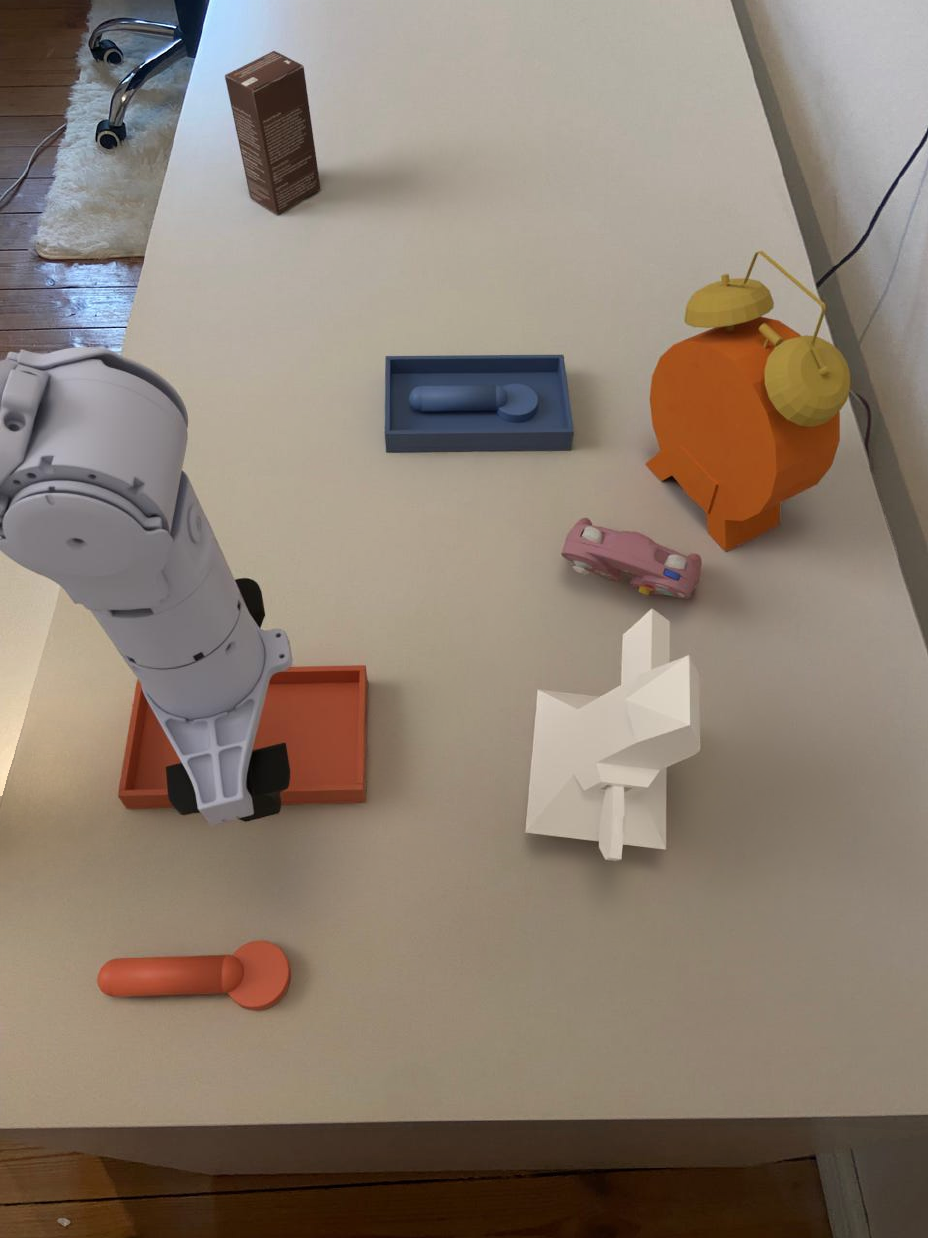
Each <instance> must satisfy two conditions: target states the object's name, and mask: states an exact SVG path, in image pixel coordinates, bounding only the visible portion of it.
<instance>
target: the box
mask: <svg viewBox="0 0 928 1238" xmlns="http://www.w3.org/2000/svg"><path fill="white" fill-rule="evenodd" d="M224 80H225V84H226V88H227V94H228V97H229V101H230V102H229V103H230V108H231V112H232V117H233V121H234V122H233V123H234V126H235V130H236V136H237V141H238V145H239V150H240V156H241V160H242V165H243V169H244V175H245V179H246V183H247V189H248V193H249V198H250V199H252V200H253V201H254V202H256V203H258V204H259V205H260V206H261V207H263V208H265V209H266V210H269V211H270V212H271V213H273V214H275V215H279V214H280V213H282V212H284V211H285V210H287V209H288V208H289V209H290V207H292V206H294V205H295V204H297V203H299V202H300V201H302V200H304V199H306V198H307V197H309V196H311V195H312V194H314V193H316V192H318V191H320V190H321V183H320V182H321V181H320V176H319V175H320V174H319V168H318V160H317V153H316V146H315V140H314V133H313V132H314V131H313V124H312V117H311V110H310V104H309V96H308V88H307V79H306V73H305V66H304V65H303V64H301V63H299V62H297V61H295V60H294V59H292V58H289V57H287V56H286V55H284V54H282V53H280V52H278V51H275V50H272V51H270V52H269V53H266V54H265V55H263V56H260V57H259V58H257V59H254V60H253V61H250V62H248V63H247V64H244V65H243V66H240V67H239V68H236V69H234V70H233V71H230V72H228V73H226V74H224Z"/></svg>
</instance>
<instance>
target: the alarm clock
mask: <svg viewBox="0 0 928 1238" xmlns="http://www.w3.org/2000/svg"><path fill="white" fill-rule="evenodd" d="M758 255H760V256H762V258H764V259H765V260H766V261H767V262H769V263H770V264H771V265H772V266H773V267H775V268H776V269H777V270H778V271H779V272H780V273H782V274H783V275H784V276H785V277H786V278H787V279H789V280H790V281H791V282H792V283H793V284H795V286H797V287H798V288H799V289H800V290H801V291H803V292H804V293H805V294H806V295H807V296H809V297H810V298H811V299H812V300H813V301H815V302H816V303H817V304H818V305H819V306H820V307H821V312H820V315H819V318H818V321H817V324H816V326H815V330H814V333H813V335H808V334H807V335H802V334H800V333H799V332H797V331H796V330H794V329H793V328H791V327H790V326H788V325H787V324H785V323H783V322H782V321H780V320H779V319H774V318H771V317H764V316H765V315H767V314H769V313H770V312H771V311H772V310H773V309H774V307H775V302H774V299H773V296H772V293H771V291H770V289H769V288H768V287H767V286H766V285H765V284H764V283H762V282H761V281H760V280H756V279H751V278H750V276H751V273H752V271H753V268H754V266H755V263H756V261H757V259H758ZM720 278H721V279H720V280H718V281H715V282H712V283H710V284H707V285H705V286H703V287H702V288H700V289H698V290H695V292H694V293H693V294H691V296H690V298H689V300H688V301H687V303H686V305H685V312H684V320H683V321H684V323H685V324H686V325H687V326H690V327H693V328H701V329H706V330H705V331H703V332H700V333H698V334H695V335H693V336H690V337H688V338H686V339H683V340H681V341H679V342H676V343H674V344H672V346H670V347H669V348H668V349H667V350H666V351H665V352H664V353H663V354H662V355H660V357H659V359H658V361H657V363H656V366H655V368H654V371H653V373H652V375H651V384H650V392H649V405H650V414H651V424H652V428H653V431H654V435H655V439H656V442H657V445H658V448H659V451H658V452H657V453H656V454H654V456H652V457H651V458H650V459H649V460H648V461H647V462H646V463H645V465H646V467H647V468H648V469H649V470H650V471H651V472H652V473H653V474H654V475H655V476H656V478H657V479H658V480H659V481H660V482H663V481H665V480H668V479H669V478H671V477H673V478H674V480H676V482H677V483H678V484H679V486H680V488H682V489H683V491H684V492H685V494H686V495H687V496H688V497H689V498H690V499H691V500H692V501H694V502H695V503H696V504H697V505H698V506H699V507H700V508H701V509H702V510H703V511H704V512H705V517H706V526H707V533H708V535H709V536H710V537H711V539H713V540H714V541H715V543H717V544H718V545H719V547H720V548H721V549H722V550H723V551H724V552H726V553H727V552H728V551H730V550H733V549H735V548H737V547H738V546H741V545H742V544H744V543H747V542H749V541H751V540H752V539H754V538H757V537H758V536H759V535H762V534H764V533H766V532H768V531H770V530H773V529H774V528H776V527H778V526H780V525H781V503H783V502H785V501H787V500H788V499H791V498H793V497H795V496H796V495H798V494H801V493H803V492H804V491H805V492H806V491H807V490H809V489H811V488H813V487H815V486H817V485H818V484H819V483H820V482H821V480H822V479H823V478H824V476H825V475H826V474H827V472H829V470H830V469H831V467H832V465H833V464H834V461H835V457H836V455H837V452H838V447H839V444H840V441H841V412H840V411H841V410H842V409H843V408H844V405H846V402H847V401H848V398H849V395H850V390H851V371H850V369H849V365H848V362H847V360H846V358H845V357H844V355H843V354H842V352H841V351H840V350H839V349H838V348H837V347H836V346H835V345H834V344H832V343H831V342H829V341H827V340H825V339H824V338H822V337H819V336H818V334H819V331H820V328H821V325H822V324H823V319H824V317H825V314H826V311H827V306H826V304H825V302H823V301H822V300H821V299H820V298H819V297H817V296H816V295H815V293H813V292H812V291H810V290H809V289H808V288H807V287H806V286H805V285H803V284H802V283H801V282H800V281H799V280H798V279H796V278H795V277H794V276H793V275H791V274H790V273H789V272H788V271H787V270H786V269H785V268H783V267H782V266H781V265H780V264H778V263H777V262H776V260H774V259H773V258H772V257H770V256H769V255H768V254H766V252H764V251H763V250H759V251H756V252H755V253H754V255H753V257H752V259H751V262H750V264H749V267H748V269H747V272H746V275H745V277H744V278H743V277H737V278H730V274H729V273H723V274H721V275H720Z"/></svg>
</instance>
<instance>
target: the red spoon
mask: <svg viewBox="0 0 928 1238" xmlns="http://www.w3.org/2000/svg"><path fill="white" fill-rule="evenodd" d="M288 959H289V958H287V955H286V954H285V952H284V951H283V950H282V949H281V948H280V947H279V946H278V945H276V944H275V943H273V942H270V941H267V940H255V941H250V942H247V943H246V944H243V945H242V946H240V947H239V948H238V949H237V950H235V952H234V953H232V955H231V954H213V955H184V956H182V955H180V956H151V957H149V956H148V957H123V958H122V957H121V958H119V957H118V958H113V959H110V960H108V961H107V962H106V963H104V964H103V965H102V967H100V969H99V971H98V974H97V979H96V982H97V986H98V988H99V990H100V991H101V992H102V993H103V994H104V995H106V996H108V997H111V998H119V997H148V996H149V997H153V996H177V995H180V996H181V995H205V994H206V995H208V994H228V995H229V997H230V998H231V999H232V1001H233V1002H234V1003H235V1004H236V1005H238V1006H239V1007H241V1008H243V1009H245V1010H248V1011H249V1010H250V1011H262V1010H265V1009H268V1008H271V1007H273V1006H274V1005H275V1004H277V1003H278V1002H279V1001H281V999H282V998H283V997H284V995H285V994H286V993H287V990H288V989H289V986H290V983H291V980H292V979H291V977H292V969H291V965H290V962H289V960H288Z"/></svg>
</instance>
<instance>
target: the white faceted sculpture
mask: <svg viewBox="0 0 928 1238" xmlns="http://www.w3.org/2000/svg"><path fill="white" fill-rule="evenodd" d="M670 626H671V621H670V620H669V619H668V618H666V617H665V616H663V614H660V613H659V612H658V611H657V610H655V609H654V608H651V609H650V610H648V611H647V612H646V613H645V614H644V615H643V616H642V617H640V619H638V621H636V622H635V623H634V624H633V625H632V626H631V627H629V629H627V631H625V632H624V633H623V634H622V644H621V645H622V646H621V647H622V649H621V670H620V671H621V673H620V675H621V676H620V677H621V678H620V685H618V686H616V687H614V688H613V689H611V690H609V691H607V692H606V693H603V694H602V695H601V696H597V695H591V694H590V695H589V694H582V693H581V694H580V693H571V692H562V691H555V690H546V689H537V694H536V706H535V717H534V726H533V727H534V728H533V739H532V750H531V763H530V774H529V785H528V796H527V797H528V798H527V807H526V808H527V810H526V820H525V834H526V833H527V834H534V835H543V836H551V837H559V838H569V839H575V840H584V841H590V842H591V841H592V842H593V841H594V842H598V848H599V850H600V853H601V854H602V856H603V858H604V860H607V861H614V862H618V861H620V860H622V855H623V846H631V847H633V846H634V847H642V848H649V849H658V850H667V768H668V767H671V766H673V765H675V764H677V763H680V762H682V761H684V760H686V759H688V758H691V757H693V756H695V755H696V754H698V752H700V751H701V713H700V712H701V704H700V703H701V702H700V701H701V699H700V696H701V695H700V674H699V672H698V670H697V668H696V666H695V664H694V661H693V659H692V658H691V656H690V654H688V655H685V656H683V657H680V658H678V659H674V660H673V661H671V659H670V658H671V657H670V655H671V654H670V651H671V648H670V647H671V645H670V642H671V639H670V638H671V635H670V634H671V633H670V632H671V627H670Z"/></svg>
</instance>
